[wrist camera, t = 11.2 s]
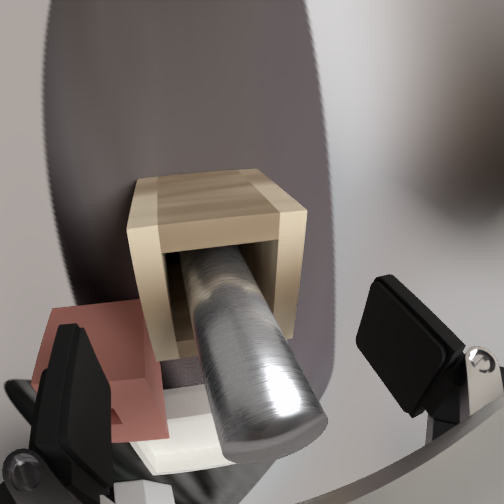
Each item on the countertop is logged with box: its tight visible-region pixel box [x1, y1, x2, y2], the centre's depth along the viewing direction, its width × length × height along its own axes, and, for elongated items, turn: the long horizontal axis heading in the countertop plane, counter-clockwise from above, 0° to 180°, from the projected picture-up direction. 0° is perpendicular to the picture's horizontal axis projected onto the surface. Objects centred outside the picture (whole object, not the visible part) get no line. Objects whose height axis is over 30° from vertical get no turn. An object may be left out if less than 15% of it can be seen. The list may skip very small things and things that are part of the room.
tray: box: [129, 384, 236, 475], centre depth 24 cm, size 11×11×3 cm
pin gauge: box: [179, 245, 328, 464], centre depth 11 cm, size 3×3×12 cm
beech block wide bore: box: [127, 169, 307, 362], centre depth 14 cm, size 6×6×6 cm
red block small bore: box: [31, 299, 170, 443], centre depth 16 cm, size 6×6×6 cm
